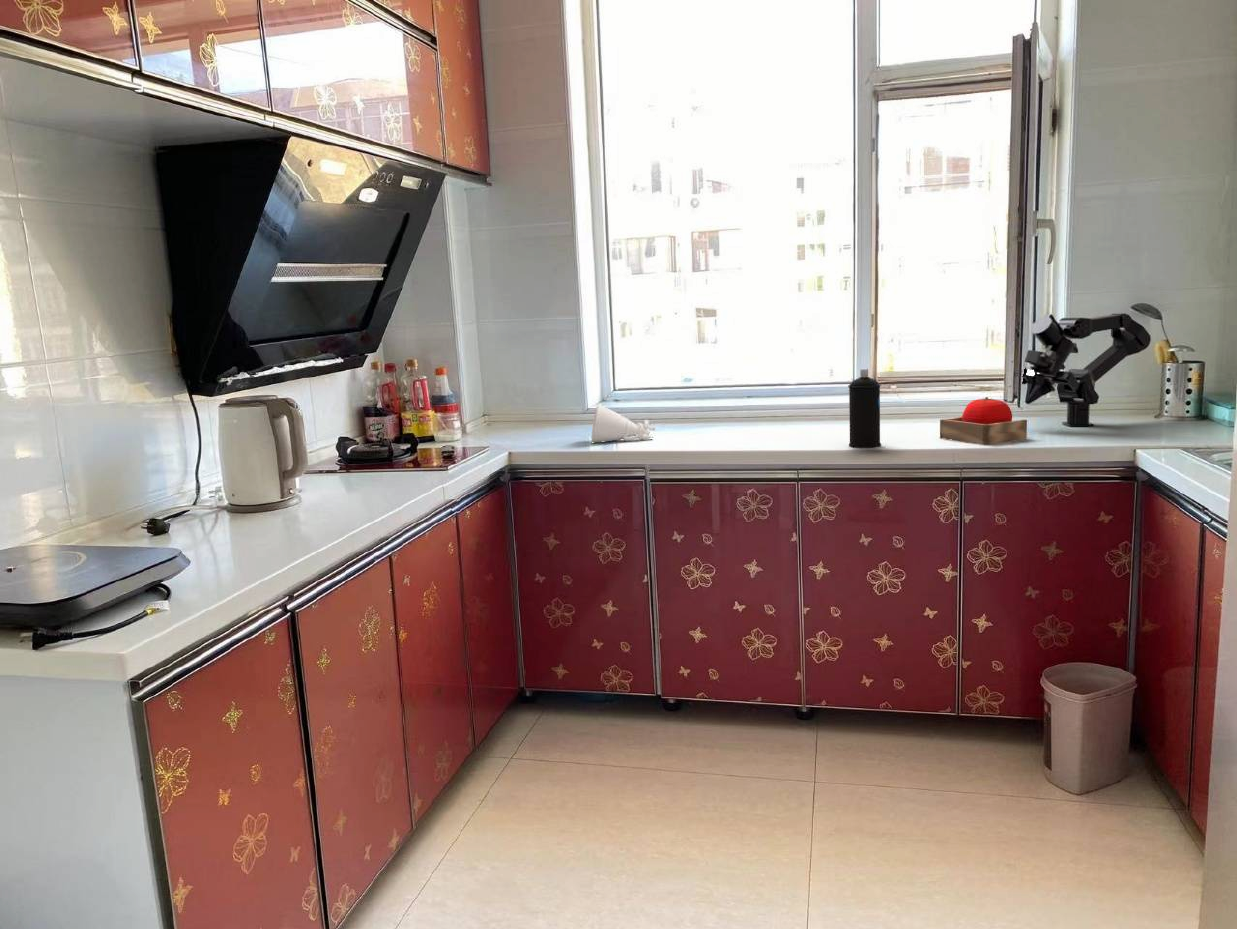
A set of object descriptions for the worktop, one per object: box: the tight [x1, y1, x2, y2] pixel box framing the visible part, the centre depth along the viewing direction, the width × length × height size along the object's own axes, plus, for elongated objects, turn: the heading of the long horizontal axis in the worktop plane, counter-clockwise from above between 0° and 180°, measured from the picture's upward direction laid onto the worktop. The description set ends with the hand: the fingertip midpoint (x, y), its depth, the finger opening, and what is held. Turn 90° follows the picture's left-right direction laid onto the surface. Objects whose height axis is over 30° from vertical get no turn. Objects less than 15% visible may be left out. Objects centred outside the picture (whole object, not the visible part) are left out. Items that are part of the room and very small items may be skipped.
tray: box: [939, 416, 1028, 446], centre depth 253 cm, size 14×16×5 cm
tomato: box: [961, 396, 1013, 424], centre depth 254 cm, size 11×12×10 cm
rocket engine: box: [590, 404, 656, 442], centre depth 282 cm, size 12×12×18 cm
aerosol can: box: [847, 368, 882, 449], centre depth 251 cm, size 8×8×20 cm
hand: (1026, 403), depth 259 cm, fingers closed
